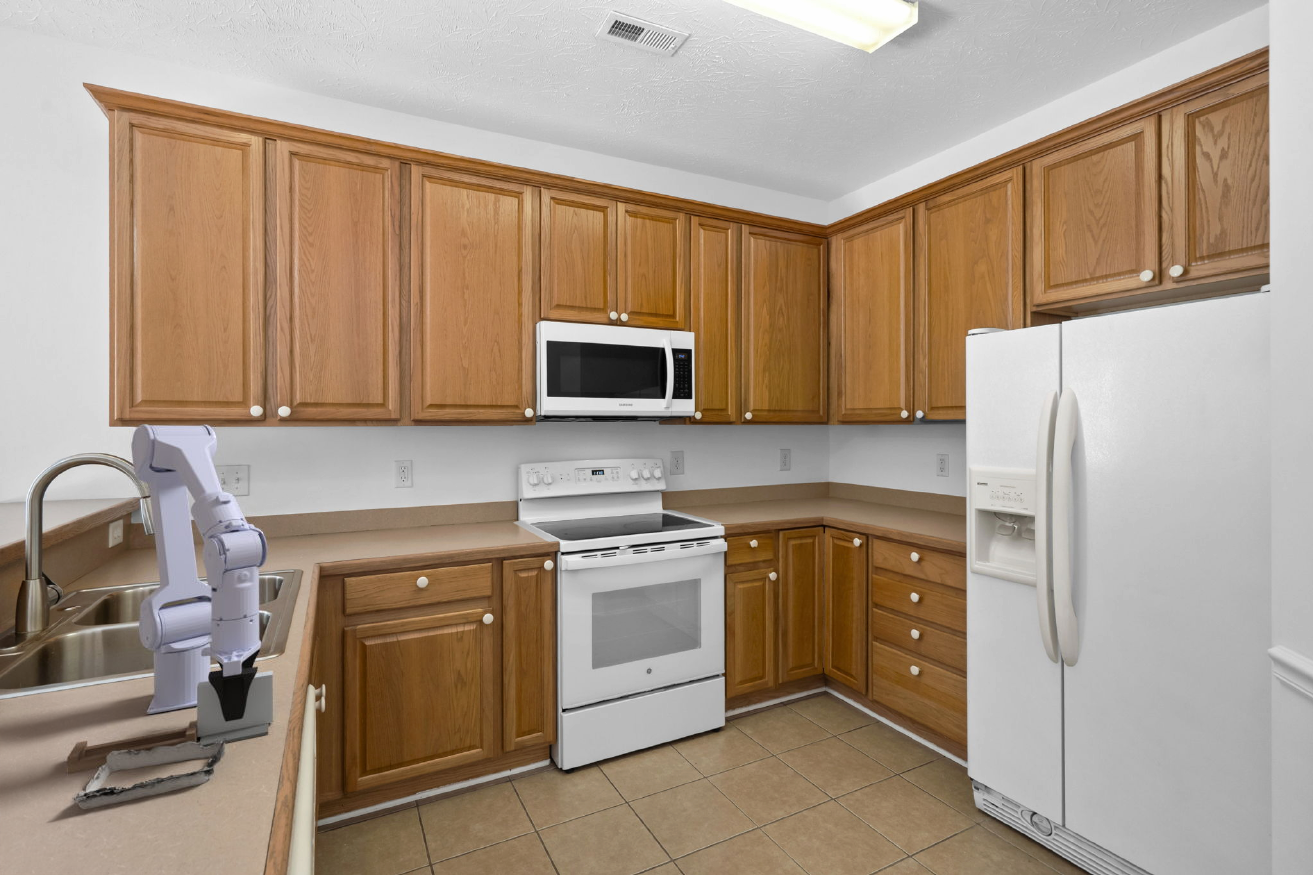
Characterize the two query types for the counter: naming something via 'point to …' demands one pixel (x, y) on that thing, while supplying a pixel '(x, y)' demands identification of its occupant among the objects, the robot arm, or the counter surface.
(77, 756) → the rack
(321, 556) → the counter surface
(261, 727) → the mat
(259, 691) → the board
